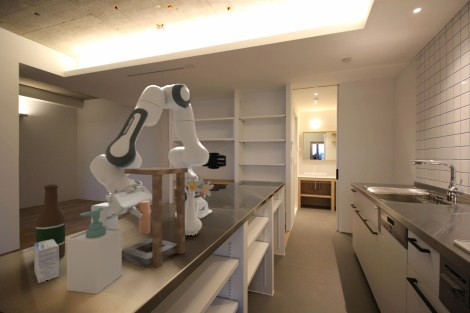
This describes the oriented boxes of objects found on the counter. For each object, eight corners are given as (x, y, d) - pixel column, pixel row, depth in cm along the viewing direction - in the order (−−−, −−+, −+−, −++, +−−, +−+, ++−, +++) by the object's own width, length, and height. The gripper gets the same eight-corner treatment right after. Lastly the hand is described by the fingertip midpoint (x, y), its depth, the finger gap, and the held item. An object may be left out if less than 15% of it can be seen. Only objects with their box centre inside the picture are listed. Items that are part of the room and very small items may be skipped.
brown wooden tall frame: (156, 242, 83) (155, 167, 83) (188, 251, 75) (187, 168, 75) (120, 258, 70) (119, 168, 70) (154, 270, 62) (153, 170, 62)
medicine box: (59, 277, 59) (59, 245, 59) (37, 284, 56) (37, 250, 56) (54, 267, 64) (54, 238, 64) (33, 273, 61) (33, 242, 61)
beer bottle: (41, 265, 65) (41, 186, 66) (30, 259, 69) (30, 185, 69) (70, 255, 72) (70, 183, 72) (59, 250, 76) (59, 182, 76)
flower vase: (206, 241, 84) (206, 177, 84) (165, 236, 89) (165, 176, 90) (218, 230, 97) (218, 174, 97) (181, 226, 102) (181, 173, 102)
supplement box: (105, 236, 89) (105, 206, 89) (90, 235, 91) (90, 205, 91) (118, 230, 97) (118, 202, 97) (104, 229, 98) (104, 202, 98)
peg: (145, 230, 86) (145, 200, 86) (152, 232, 84) (152, 201, 84) (136, 233, 83) (136, 202, 83) (143, 235, 81) (143, 203, 81)
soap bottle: (65, 291, 53) (65, 213, 53) (95, 272, 61) (95, 205, 61) (96, 295, 51) (96, 214, 51) (122, 275, 60) (122, 206, 60)
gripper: (108, 187, 74) (134, 216, 73) (142, 180, 94) (163, 203, 93) (96, 200, 75) (122, 229, 73) (133, 190, 95) (154, 213, 94)
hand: (145, 214), depth 83 cm, fingers closed on peg, 4 cm apart
